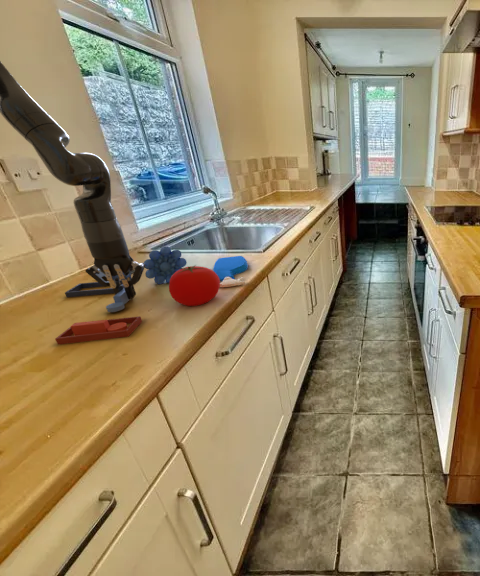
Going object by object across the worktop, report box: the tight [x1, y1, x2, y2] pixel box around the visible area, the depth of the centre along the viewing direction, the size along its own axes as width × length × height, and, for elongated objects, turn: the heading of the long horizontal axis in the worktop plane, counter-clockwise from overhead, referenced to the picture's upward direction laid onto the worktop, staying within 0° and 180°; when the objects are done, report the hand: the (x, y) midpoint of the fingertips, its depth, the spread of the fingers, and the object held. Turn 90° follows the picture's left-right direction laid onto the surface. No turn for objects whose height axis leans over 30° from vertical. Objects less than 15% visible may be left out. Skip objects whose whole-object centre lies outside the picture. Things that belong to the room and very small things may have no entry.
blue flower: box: [143, 246, 187, 285], centre depth 100 cm, size 12×7×12 cm, turn 115°
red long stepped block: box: [70, 319, 129, 336], centre depth 73 cm, size 10×4×3 cm, turn 103°
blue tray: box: [64, 279, 124, 298], centre depth 95 cm, size 14×7×2 cm, turn 103°
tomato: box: [168, 264, 221, 307], centre depth 87 cm, size 11×12×10 cm
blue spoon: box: [105, 289, 131, 313], centre depth 85 cm, size 10×4×3 cm, turn 13°
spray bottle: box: [212, 255, 249, 288], centre depth 107 cm, size 3×11×24 cm
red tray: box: [54, 315, 143, 345], centre depth 73 cm, size 14×7×2 cm, turn 103°
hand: (127, 298), depth 88 cm, fingers closed on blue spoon, 1 cm apart
